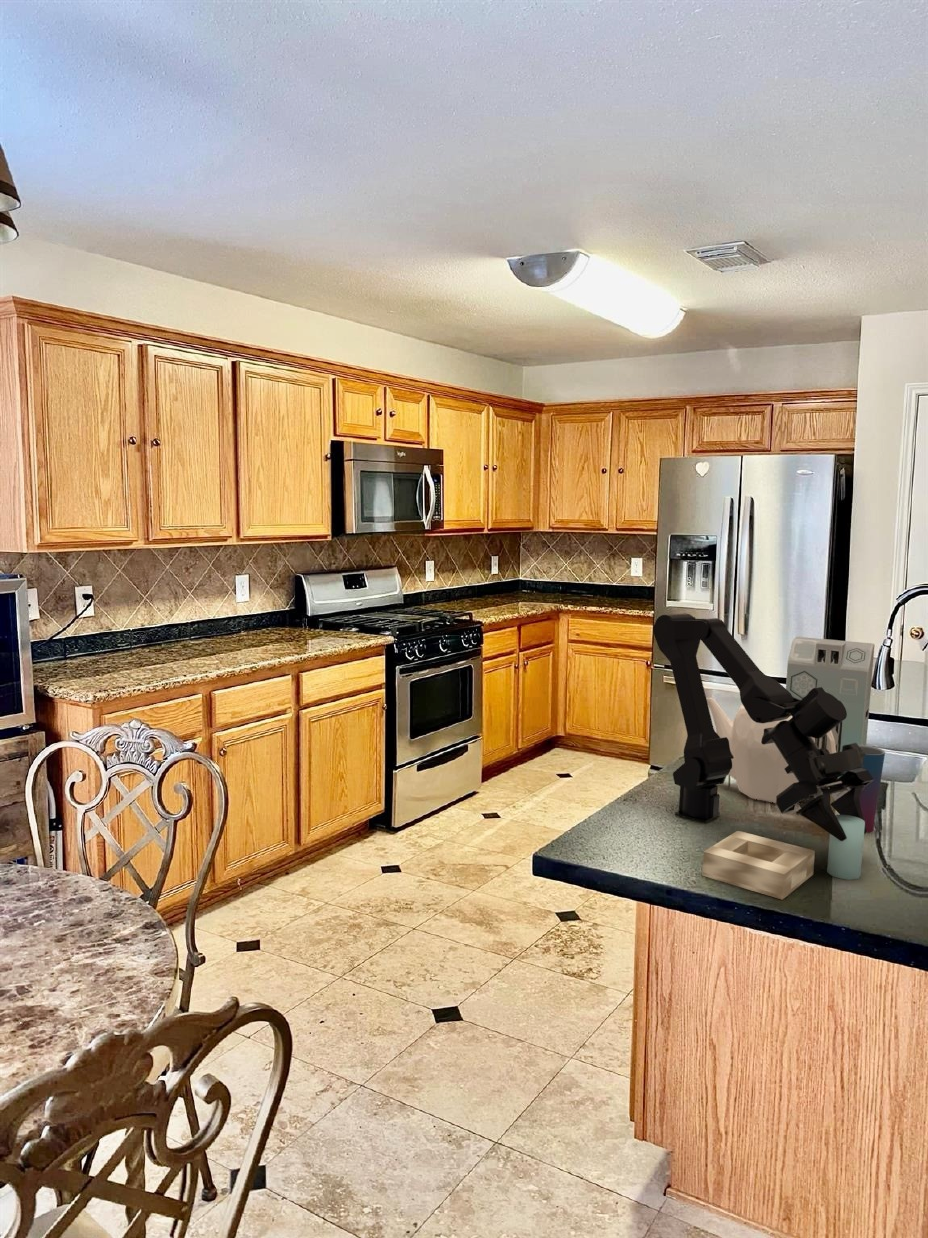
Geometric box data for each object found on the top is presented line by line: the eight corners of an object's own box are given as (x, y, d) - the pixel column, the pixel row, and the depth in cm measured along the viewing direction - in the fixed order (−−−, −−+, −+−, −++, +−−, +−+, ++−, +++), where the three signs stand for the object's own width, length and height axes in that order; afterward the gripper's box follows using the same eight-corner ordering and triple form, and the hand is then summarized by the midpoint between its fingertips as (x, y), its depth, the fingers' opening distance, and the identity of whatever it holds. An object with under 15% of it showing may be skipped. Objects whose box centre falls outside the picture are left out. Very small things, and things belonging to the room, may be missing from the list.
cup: (882, 836, 165) (889, 756, 164) (842, 832, 167) (849, 753, 165) (873, 823, 172) (880, 746, 170) (835, 820, 173) (841, 743, 172)
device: (779, 773, 204) (789, 640, 200) (786, 765, 210) (795, 636, 207) (859, 786, 196) (870, 648, 192) (863, 777, 202) (874, 643, 199)
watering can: (709, 774, 202) (715, 690, 199) (838, 796, 188) (845, 707, 186) (688, 792, 188) (693, 702, 186) (824, 818, 175) (831, 721, 172)
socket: (702, 875, 146) (703, 851, 145) (736, 853, 155) (737, 830, 155) (782, 899, 137) (784, 874, 137) (813, 874, 147) (814, 850, 147)
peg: (822, 873, 148) (826, 820, 147) (833, 864, 152) (837, 812, 150) (854, 882, 145) (859, 827, 143) (864, 873, 148) (869, 819, 147)
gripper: (796, 734, 143) (853, 823, 136) (867, 721, 153) (925, 803, 146) (752, 770, 151) (804, 856, 143) (823, 755, 161) (875, 835, 153)
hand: (854, 837), depth 146 cm, fingers closed on peg, 5 cm apart
